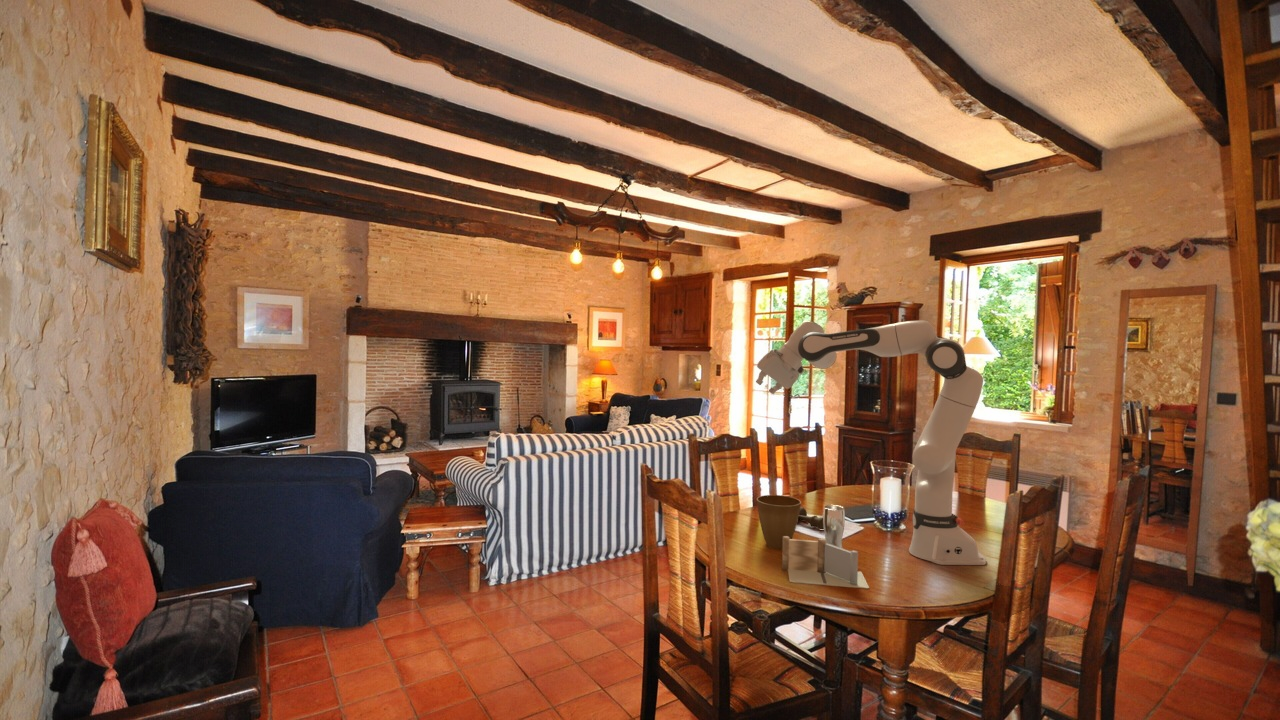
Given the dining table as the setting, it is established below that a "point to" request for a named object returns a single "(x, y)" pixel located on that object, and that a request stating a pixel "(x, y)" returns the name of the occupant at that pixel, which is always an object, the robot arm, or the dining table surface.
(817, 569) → the fence fixed section
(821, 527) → the kendama
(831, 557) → the fence gate
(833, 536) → the beer glass
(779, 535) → the plant pot
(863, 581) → the card
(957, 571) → the dining table surface
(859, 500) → the dining table surface
